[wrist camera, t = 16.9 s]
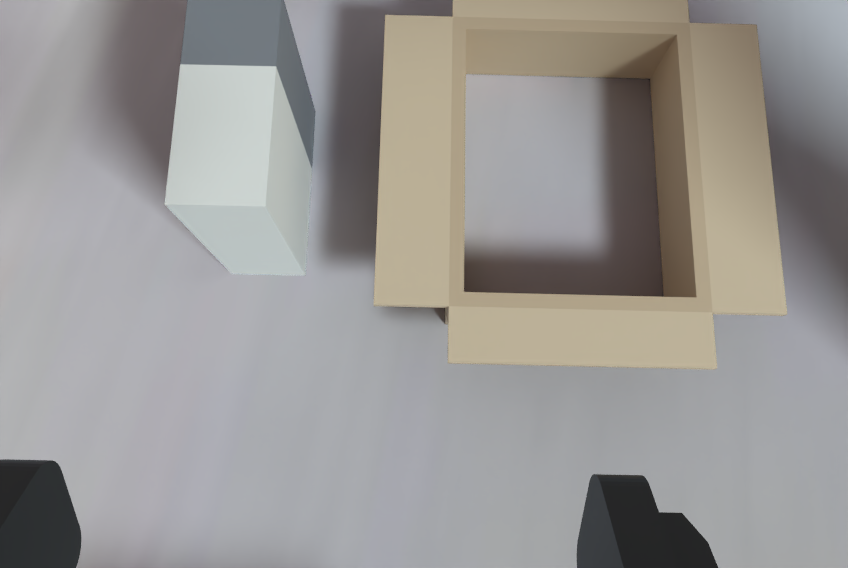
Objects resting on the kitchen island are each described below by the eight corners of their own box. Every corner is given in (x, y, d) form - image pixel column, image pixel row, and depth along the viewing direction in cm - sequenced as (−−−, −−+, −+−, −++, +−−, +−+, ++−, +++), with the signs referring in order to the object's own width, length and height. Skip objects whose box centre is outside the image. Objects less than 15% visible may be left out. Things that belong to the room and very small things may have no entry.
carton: (717, 29, 48) (751, -20, 43) (749, 381, 42) (793, 370, 37) (389, 21, 48) (386, -29, 43) (376, 372, 42) (371, 360, 37)
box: (315, 111, 46) (281, -8, 35) (305, 275, 43) (265, 206, 32) (245, 110, 46) (188, -10, 35) (231, 274, 43) (164, 204, 32)
